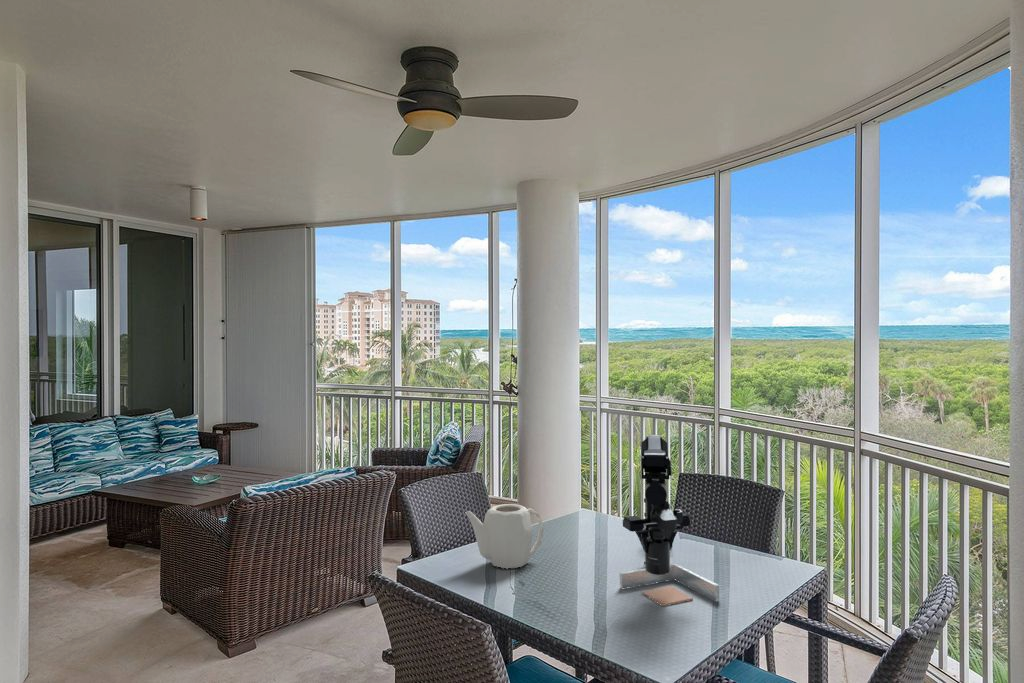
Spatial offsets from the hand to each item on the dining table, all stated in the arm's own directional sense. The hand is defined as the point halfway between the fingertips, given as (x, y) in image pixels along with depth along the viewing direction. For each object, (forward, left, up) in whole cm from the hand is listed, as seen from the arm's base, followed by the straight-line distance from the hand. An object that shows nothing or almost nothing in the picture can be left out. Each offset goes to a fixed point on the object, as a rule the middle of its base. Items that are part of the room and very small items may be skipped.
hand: (657, 551), depth 173 cm
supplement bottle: (0, 0, -6) cm, 6 cm away
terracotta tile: (+1, +2, -13) cm, 13 cm away
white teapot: (-44, -30, -13) cm, 55 cm away
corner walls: (0, +3, -13) cm, 13 cm away
